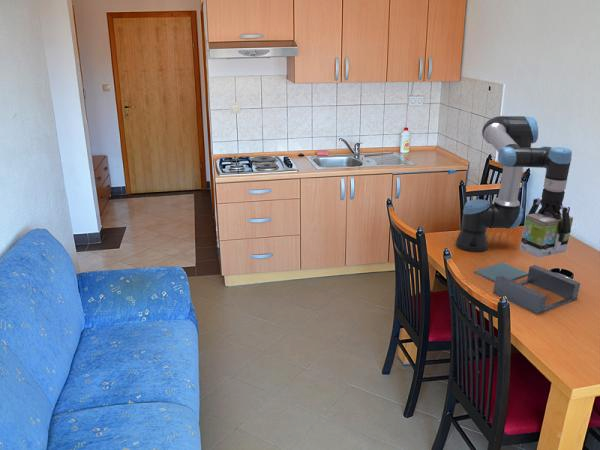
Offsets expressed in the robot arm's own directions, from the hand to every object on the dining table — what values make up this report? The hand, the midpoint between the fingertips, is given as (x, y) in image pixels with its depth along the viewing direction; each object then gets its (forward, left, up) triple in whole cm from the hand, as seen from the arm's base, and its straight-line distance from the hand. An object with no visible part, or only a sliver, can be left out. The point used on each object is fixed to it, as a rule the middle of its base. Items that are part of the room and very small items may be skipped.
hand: (543, 244), depth 207 cm
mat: (-21, +6, -22) cm, 31 cm away
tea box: (0, 0, -3) cm, 3 cm away
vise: (0, +3, -22) cm, 23 cm away
